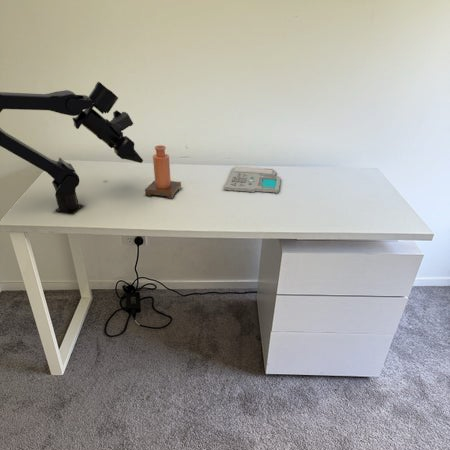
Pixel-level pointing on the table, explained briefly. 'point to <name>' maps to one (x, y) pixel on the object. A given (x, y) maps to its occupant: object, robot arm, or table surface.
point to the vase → (161, 168)
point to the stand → (163, 190)
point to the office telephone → (253, 180)
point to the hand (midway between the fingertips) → (137, 157)
